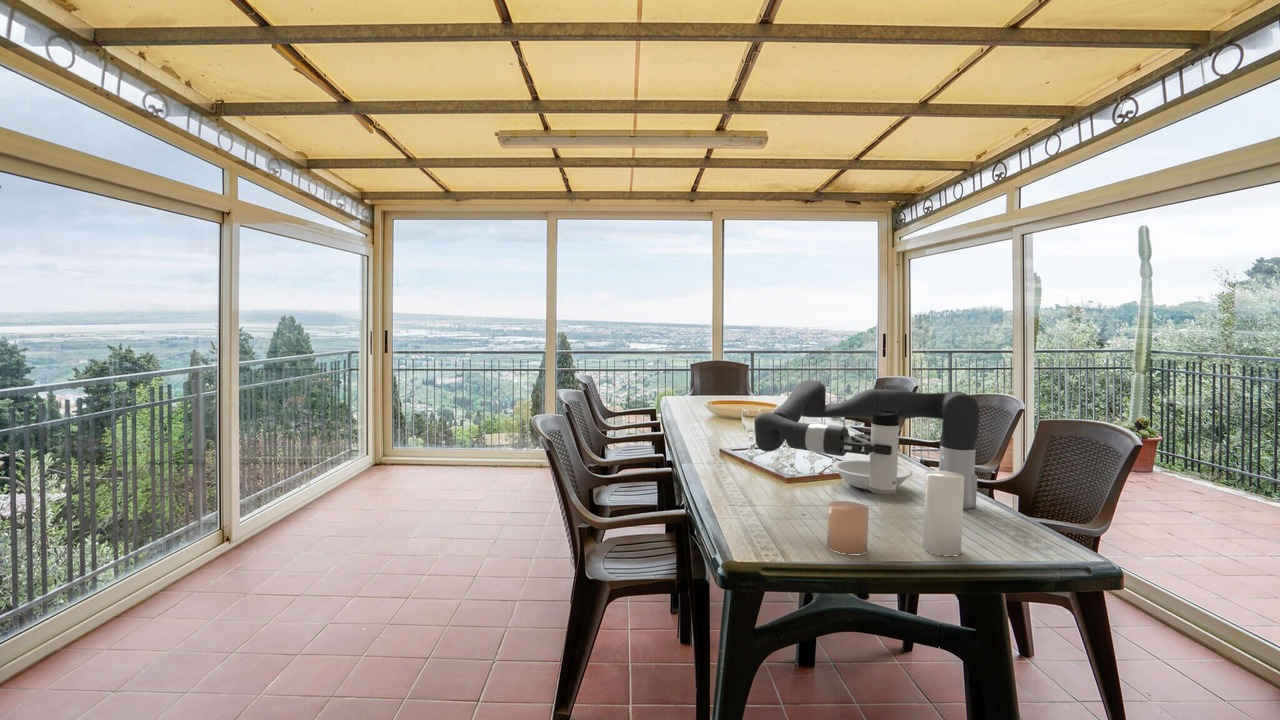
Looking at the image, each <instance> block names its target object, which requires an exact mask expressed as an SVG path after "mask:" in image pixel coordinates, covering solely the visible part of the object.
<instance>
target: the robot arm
mask: <svg viewBox="0 0 1280 720" xmlns="http://www.w3.org/2000/svg"><path fill="white" fill-rule="evenodd" d="M894 410H898V411H901V414H899V420H906V419H913V418H914V419H915V418H930V419H931V418H932V419H938V420H942V432H941V435H940V441H939V463H938V465H939V466H938V470H940V471H949V472H954V473H958V474H961V475H963V476H964V498H963V510H968V509H969V510H970V509H977V496H978V495H977V494H978V493H977V492H978V475H977V474H975V470H976V469H975V467H976V449H977V447H976V446H977V442H978V439H979V426H980V406H979V404H978V402H977V400H976V399H975V398H974V397H972V396H971V395H969V394H967V393H965V392H961V391H948V392H946V391H945V392H933V393H932V392H929V393H925V392H924V393H921V392H913V391H906V390H898V389H896V390H895V389H884V388H883V389H881V388H879V389H878V388H871V389H870V388H869V389H867V390H864V391H862V392H860V393H858V394H856V395H854V396H852V397H850V398H849V399H846V400H845V401H842V402H836V403H829V404H826V387H825V385H824V384H823V383H822V382H820V381H818V380H811V379H810V380H809V379H808V380H803V381H801V382H799V383H798V384H797V385H796V386H795V387H794V388H793V390H792V392H791V393H790V394H789V396H788V397H787V398H786V400H785V401H784V402H783V403H782V404H781V405H780V406H779V407H777V408H776V409H774V410H773V411H772V412H761V413H759V414H757V416H755V418H754V422H753V423H754V435H755V436H754V437H755V444H756V446H757V448H758V449H759V450H761V451H763V452H767V453H768V452H775V451H777V450H778V449H779V448H781V447H782V445H783V444H784V442H786V444H787V446H788V447H789V448H791V449H796V450H800V451H801V450H802V451H809V452H814V453H816V454H822V455H823V454H824V455H831V456H837V457H838V456H839V457H844V456H845V455H846V454H848V453H849V454H859V455H865V456H870V454H874V452H875V453H877V454H884V455H891V454H892V446H890V445H882V444H874V443H871V434H870V435H869V434H863V433H855V434H854V435H850V434H849V430H848V428H847V427H845V426H840V425H830V424H824V423H821V424H820V423H816V424H814V423H806V422H800V420H801V419H802V417H804V418H853V419H854V418H856V419H857V418H859V419H871V420H872V413H874V412H878V411H894ZM899 449H900V441H898V450H899Z"/></svg>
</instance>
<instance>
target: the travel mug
mask: <svg viewBox="0 0 1280 720" xmlns="http://www.w3.org/2000/svg"><path fill="white" fill-rule="evenodd" d="M899 414H901V411H898V410H894V411H878V412H874V413H872V419H871V423H870V424H871V427H870V428H871V430H870V435H871V443H874V444H882V445H890V446H892V454H891V455H884V454H877V453H875V452H874V454H869V460H870V474H869V490H868V491H870V492H872V493H875V494H879V495H894V494H896V493H897V488H898V487H896V485H897V465H899V463H898V462H899V459H898V457H899V449H898V442H899V440H900V439H899V436H900V435H899V434H900V419H899Z"/></svg>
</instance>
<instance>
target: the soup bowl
mask: <svg viewBox="0 0 1280 720" xmlns="http://www.w3.org/2000/svg"><path fill="white" fill-rule="evenodd" d="M832 468H833V469H834V470H835V471H837V473H838V474H839V475H840V477H841V478H842V479H843V480H844V481H845V482H846V483H847V484H848V485H850V486H853V487H855V488H859V489H863V490H867V491H870V490H869V474H870V459H869V460H868V459H845V460H840V461H836V462H834V463H833V464H832ZM912 475H913V471H912V470H911V469H909V468H908V467H905V466H903V465H900V464H898V465H897V485H896V487H897V488H898V487H899V486H901V485H902V484H903V483H904V482H905V480H906V479H907V478H909V477H912Z"/></svg>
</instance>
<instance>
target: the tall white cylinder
mask: <svg viewBox="0 0 1280 720" xmlns="http://www.w3.org/2000/svg"><path fill="white" fill-rule="evenodd" d="M924 485H925V487H924V506H923V507H924V508H923V509H924V510H923V534H922V549H923V548H924V549H925V550H927V551H929V552H932V553H935V554H939V555H949V556H954V555H959V554H960V553H961V554H962V540H963V538H962V537H963V516H964V515H963V514H964V509H963V498H964V476H963V475H961V474H958V473H954V472H949V471H940V470H939V469H935V470H927V471H926V472H925V484H924ZM924 549H923V550H924ZM925 550H924V551H925ZM927 551H926V552H927ZM929 552H928V553H929ZM932 553H931V554H932ZM935 554H934V555H935ZM939 555H938V556H939ZM959 556H960V555H959Z"/></svg>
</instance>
